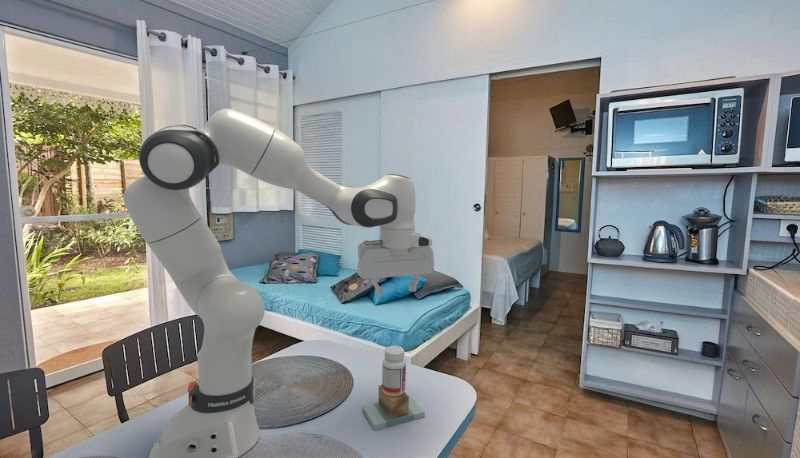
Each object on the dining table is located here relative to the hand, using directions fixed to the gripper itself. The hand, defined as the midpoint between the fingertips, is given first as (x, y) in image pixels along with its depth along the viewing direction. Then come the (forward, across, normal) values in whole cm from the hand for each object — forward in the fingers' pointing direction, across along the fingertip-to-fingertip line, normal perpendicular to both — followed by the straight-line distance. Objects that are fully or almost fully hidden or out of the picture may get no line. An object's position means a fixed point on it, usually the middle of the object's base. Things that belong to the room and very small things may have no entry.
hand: (396, 292), depth 95 cm
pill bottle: (+27, 0, 0) cm, 27 cm away
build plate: (+33, 0, 0) cm, 33 cm away
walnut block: (+32, 0, 0) cm, 32 cm away
